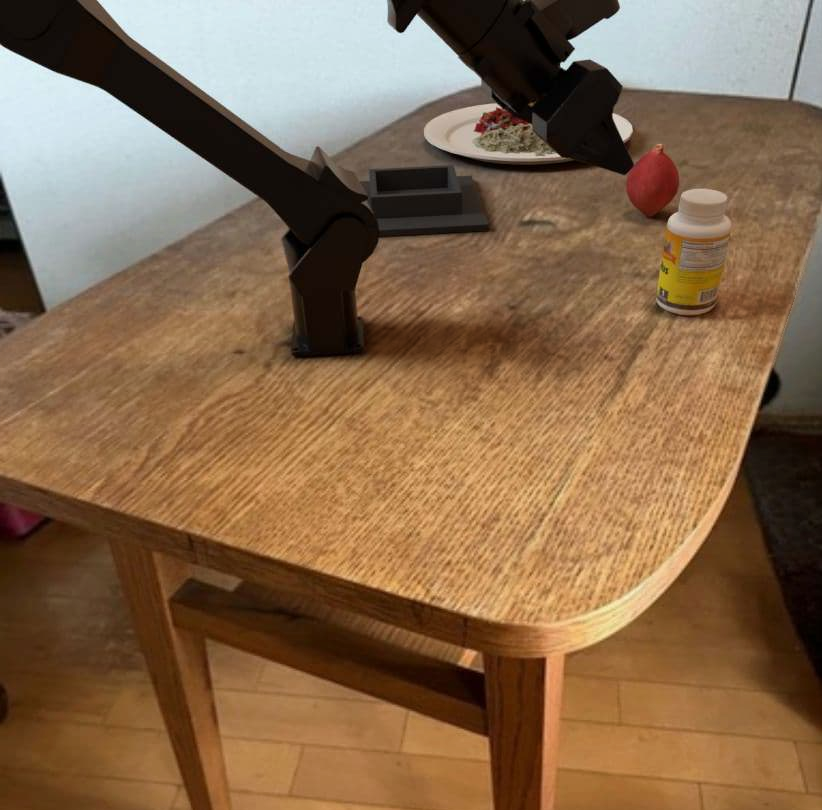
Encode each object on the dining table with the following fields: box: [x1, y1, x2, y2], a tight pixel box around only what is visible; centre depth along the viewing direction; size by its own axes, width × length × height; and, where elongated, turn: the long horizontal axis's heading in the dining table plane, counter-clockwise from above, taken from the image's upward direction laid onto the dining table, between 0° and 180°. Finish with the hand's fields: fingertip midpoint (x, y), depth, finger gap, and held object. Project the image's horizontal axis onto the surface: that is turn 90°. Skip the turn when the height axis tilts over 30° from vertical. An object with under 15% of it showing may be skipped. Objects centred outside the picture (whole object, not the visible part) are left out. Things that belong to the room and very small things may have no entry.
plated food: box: [423, 102, 633, 166], centre depth 124 cm, size 30×30×3 cm
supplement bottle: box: [655, 188, 733, 316], centre depth 78 cm, size 6×6×10 cm
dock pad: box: [359, 164, 490, 238], centre depth 104 cm, size 18×16×3 cm
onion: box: [625, 143, 680, 218], centre depth 98 cm, size 6×6×8 cm
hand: (607, 154), depth 73 cm, fingers open, 9 cm apart
